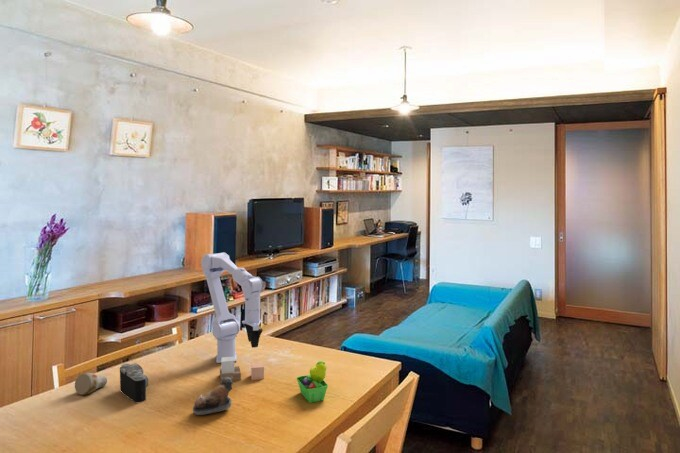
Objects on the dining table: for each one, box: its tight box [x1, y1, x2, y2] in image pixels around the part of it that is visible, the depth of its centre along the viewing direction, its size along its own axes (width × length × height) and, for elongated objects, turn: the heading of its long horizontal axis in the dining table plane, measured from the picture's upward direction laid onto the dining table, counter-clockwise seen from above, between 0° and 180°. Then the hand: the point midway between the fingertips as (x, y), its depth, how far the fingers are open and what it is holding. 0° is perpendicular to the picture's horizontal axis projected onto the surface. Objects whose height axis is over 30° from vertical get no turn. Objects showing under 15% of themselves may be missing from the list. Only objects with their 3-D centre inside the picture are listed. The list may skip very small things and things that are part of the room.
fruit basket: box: [296, 360, 329, 404], centre depth 147 cm, size 11×9×11 cm
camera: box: [119, 362, 149, 403], centre depth 148 cm, size 15×7×10 cm, turn 47°
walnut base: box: [219, 365, 242, 383], centre depth 163 cm, size 7×7×3 cm
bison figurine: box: [192, 376, 234, 416], centre depth 136 cm, size 12×7×10 cm, turn 114°
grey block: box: [220, 357, 235, 374], centre depth 162 cm, size 4×4×4 cm
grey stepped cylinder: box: [74, 372, 108, 396], centre depth 151 cm, size 7×10×10 cm
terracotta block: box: [250, 362, 265, 381], centre depth 163 cm, size 4×4×4 cm
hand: (253, 344), depth 170 cm, fingers open, 7 cm apart
